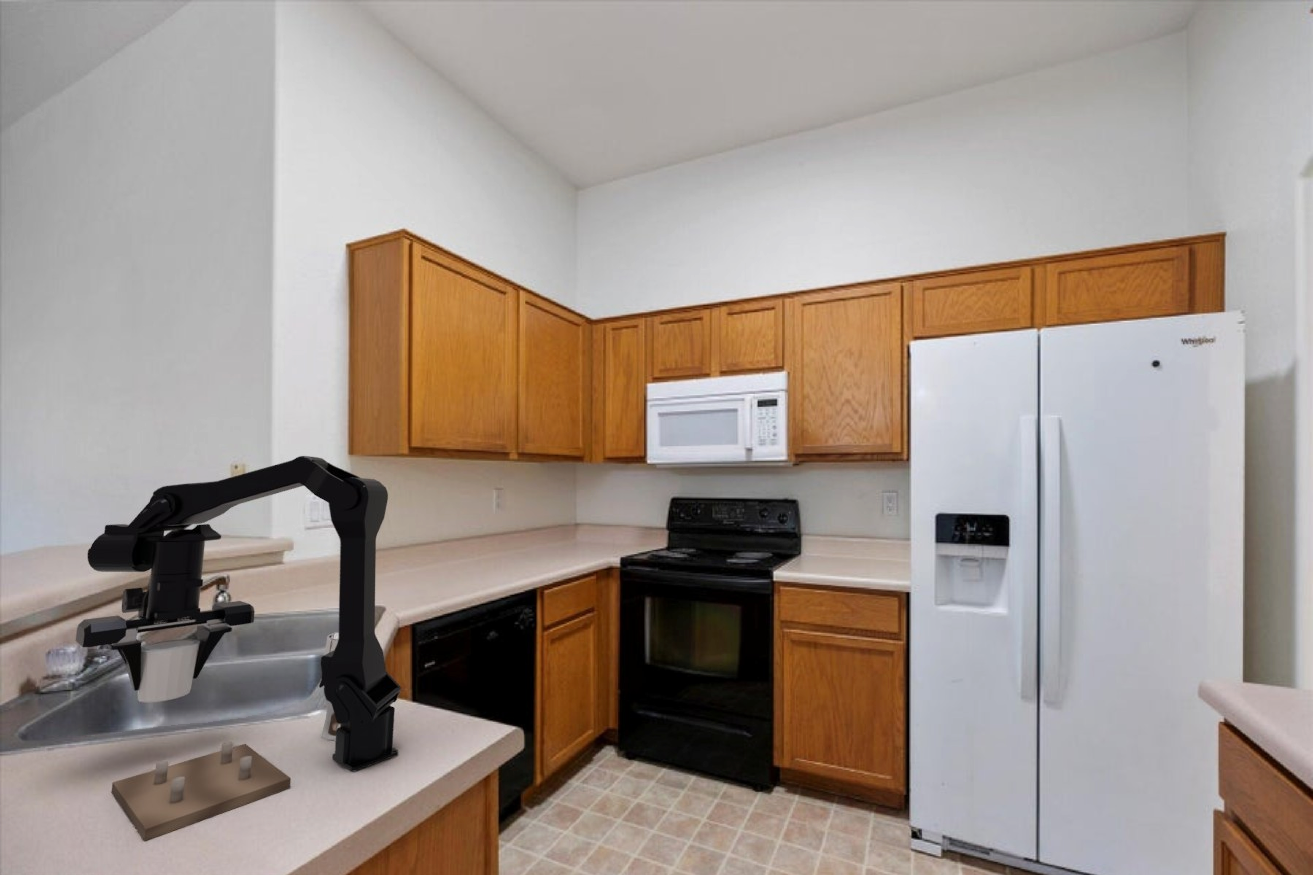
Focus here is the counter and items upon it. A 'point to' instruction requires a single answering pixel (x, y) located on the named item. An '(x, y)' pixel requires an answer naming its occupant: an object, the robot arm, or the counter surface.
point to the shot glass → (167, 669)
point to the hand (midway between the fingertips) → (165, 683)
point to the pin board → (197, 789)
